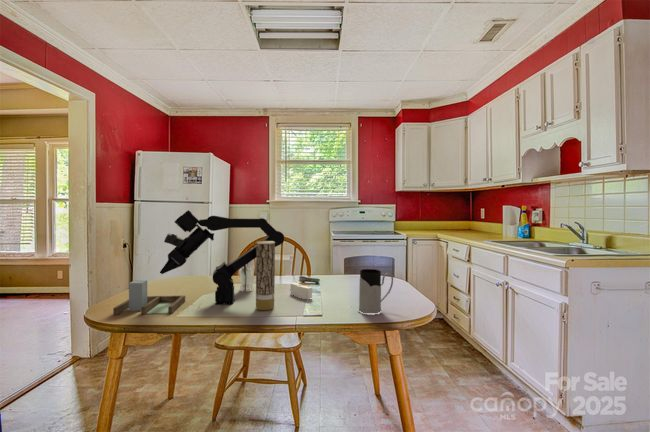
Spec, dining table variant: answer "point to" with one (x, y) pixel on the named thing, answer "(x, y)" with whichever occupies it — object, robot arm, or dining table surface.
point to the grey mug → (371, 290)
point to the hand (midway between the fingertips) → (162, 270)
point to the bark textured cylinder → (265, 275)
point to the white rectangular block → (301, 291)
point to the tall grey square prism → (137, 294)
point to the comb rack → (155, 305)
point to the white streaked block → (247, 276)
